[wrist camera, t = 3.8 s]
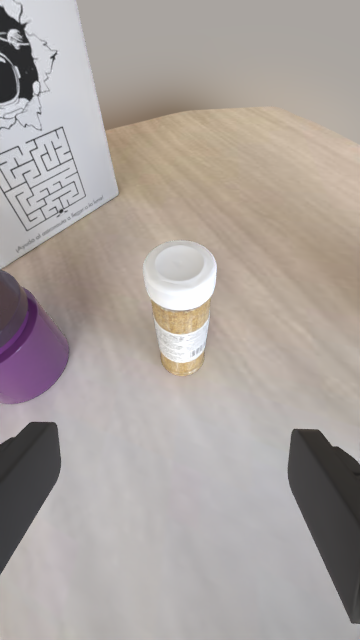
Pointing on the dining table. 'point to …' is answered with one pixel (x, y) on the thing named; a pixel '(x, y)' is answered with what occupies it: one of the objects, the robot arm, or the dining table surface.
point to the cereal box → (47, 126)
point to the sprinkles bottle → (180, 301)
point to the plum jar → (27, 344)
